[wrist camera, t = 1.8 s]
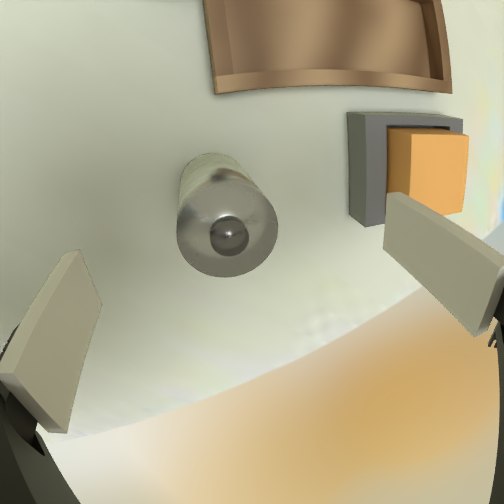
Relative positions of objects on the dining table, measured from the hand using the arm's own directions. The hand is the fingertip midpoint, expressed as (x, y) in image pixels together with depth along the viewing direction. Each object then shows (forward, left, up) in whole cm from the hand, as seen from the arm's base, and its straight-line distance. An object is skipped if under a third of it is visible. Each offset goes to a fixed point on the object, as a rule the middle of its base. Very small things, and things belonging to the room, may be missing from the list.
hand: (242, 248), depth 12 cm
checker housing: (+15, 0, -9) cm, 17 cm away
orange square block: (+15, 0, -8) cm, 17 cm away
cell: (0, 0, -9) cm, 9 cm away
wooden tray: (+10, +11, -9) cm, 17 cm away
